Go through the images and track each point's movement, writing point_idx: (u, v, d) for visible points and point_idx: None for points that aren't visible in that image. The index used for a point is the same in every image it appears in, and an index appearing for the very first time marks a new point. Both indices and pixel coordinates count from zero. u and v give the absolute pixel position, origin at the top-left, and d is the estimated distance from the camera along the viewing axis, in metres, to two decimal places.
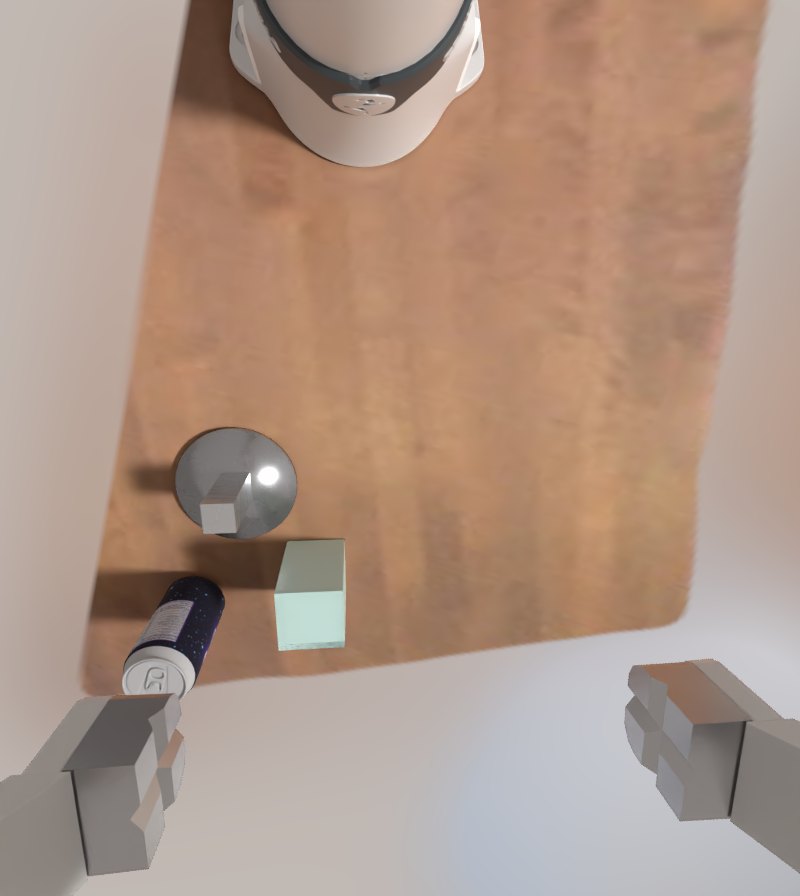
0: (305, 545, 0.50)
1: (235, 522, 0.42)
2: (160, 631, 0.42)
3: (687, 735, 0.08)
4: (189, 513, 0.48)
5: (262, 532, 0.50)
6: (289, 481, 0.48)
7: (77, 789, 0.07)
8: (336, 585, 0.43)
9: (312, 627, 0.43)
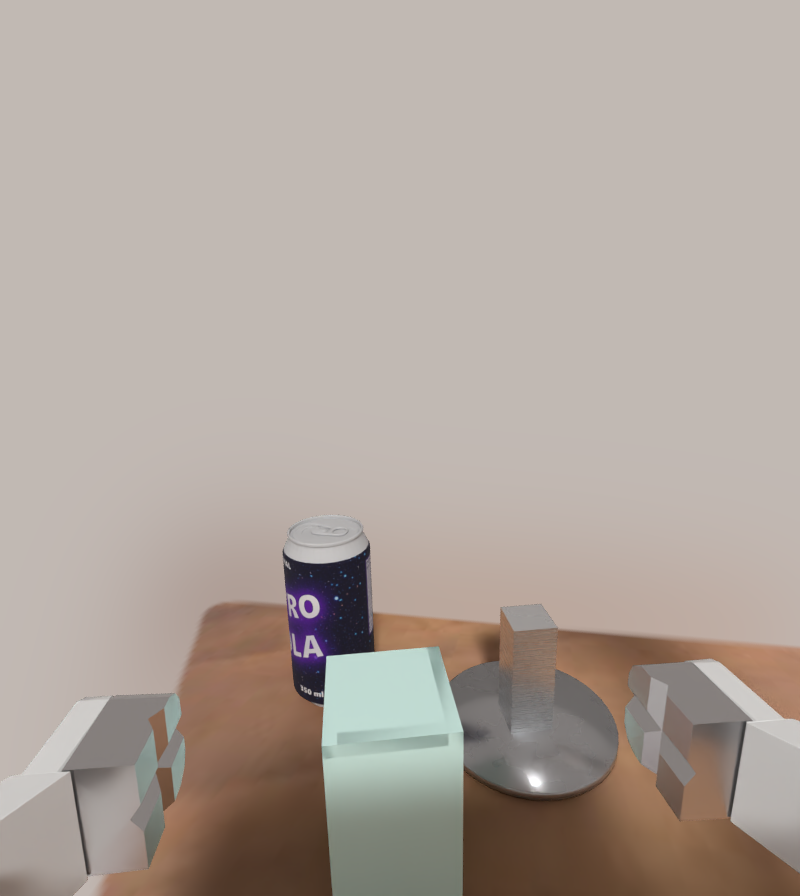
0: None
1: (528, 631, 0.30)
2: None
3: (687, 735, 0.08)
4: (466, 672, 0.37)
5: None
6: (559, 781, 0.28)
7: (77, 789, 0.07)
8: None
9: (373, 693, 0.23)
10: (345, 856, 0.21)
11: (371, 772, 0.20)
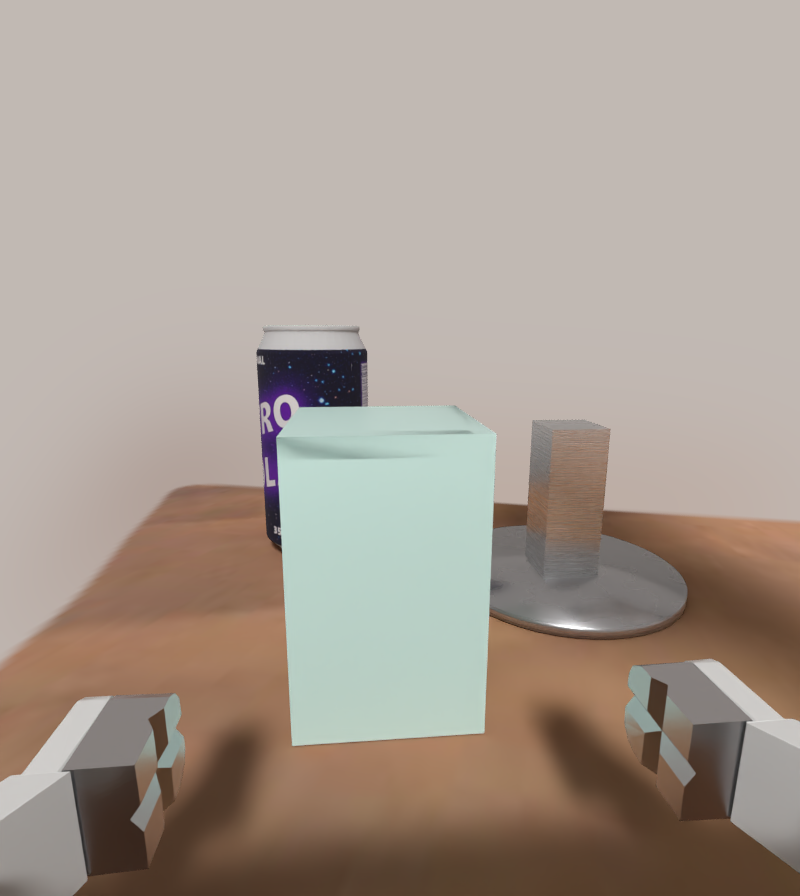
0: None
1: (571, 432, 0.22)
2: None
3: (687, 735, 0.08)
4: None
5: None
6: (613, 618, 0.20)
7: (77, 789, 0.07)
8: None
9: (361, 419, 0.16)
10: (310, 636, 0.14)
11: (353, 492, 0.13)
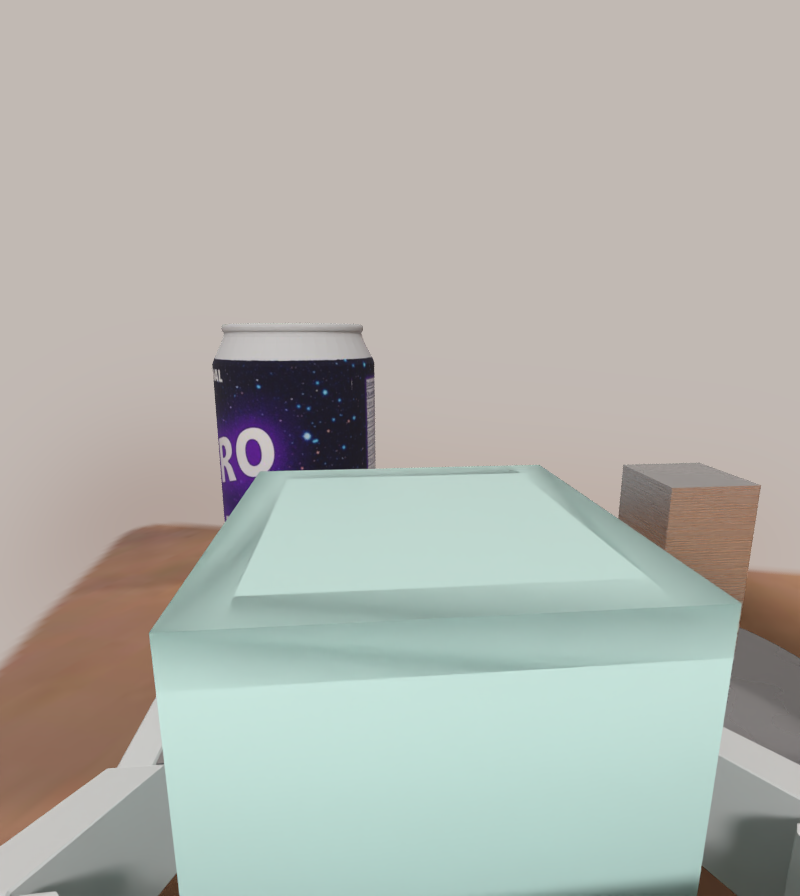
0: None
1: (700, 491, 0.14)
2: None
3: None
4: None
5: None
6: None
7: None
8: None
9: (376, 519, 0.07)
10: None
11: (364, 758, 0.05)
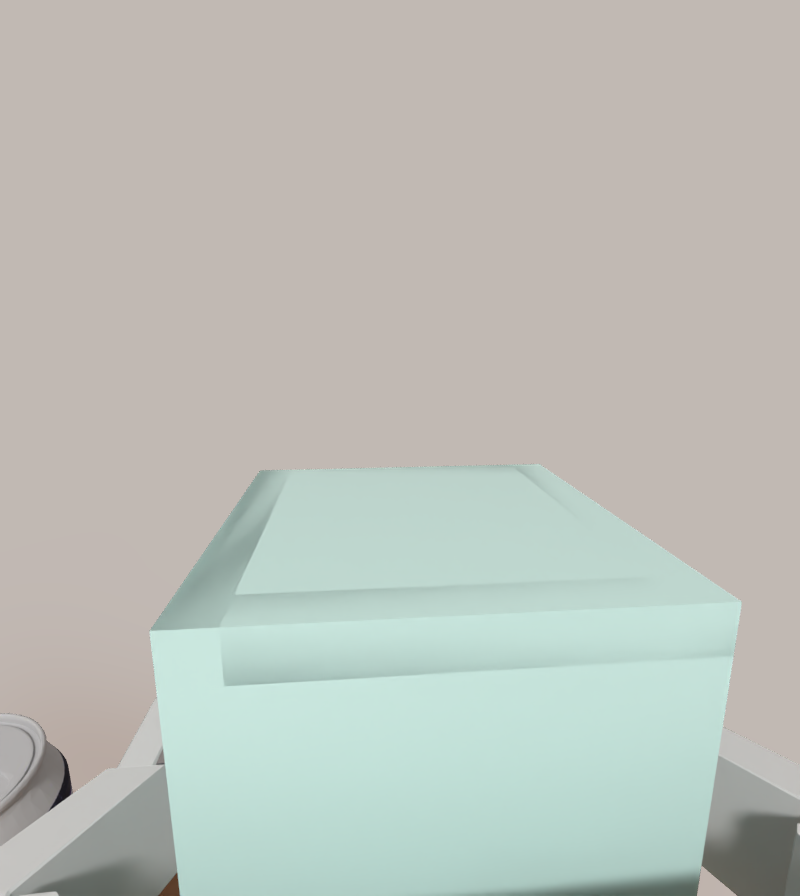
0: None
1: None
2: None
3: None
4: None
5: None
6: None
7: None
8: None
9: (377, 519, 0.07)
10: None
11: (364, 757, 0.05)
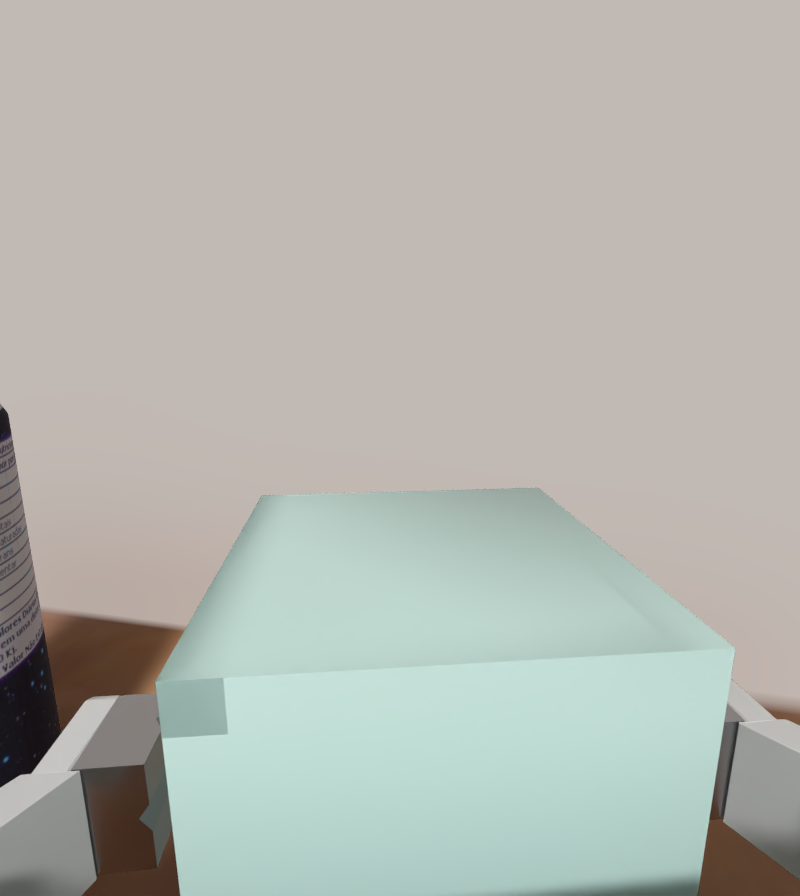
0: None
1: None
2: None
3: None
4: None
5: None
6: None
7: (86, 788, 0.07)
8: None
9: (377, 551, 0.07)
10: None
11: (365, 800, 0.05)
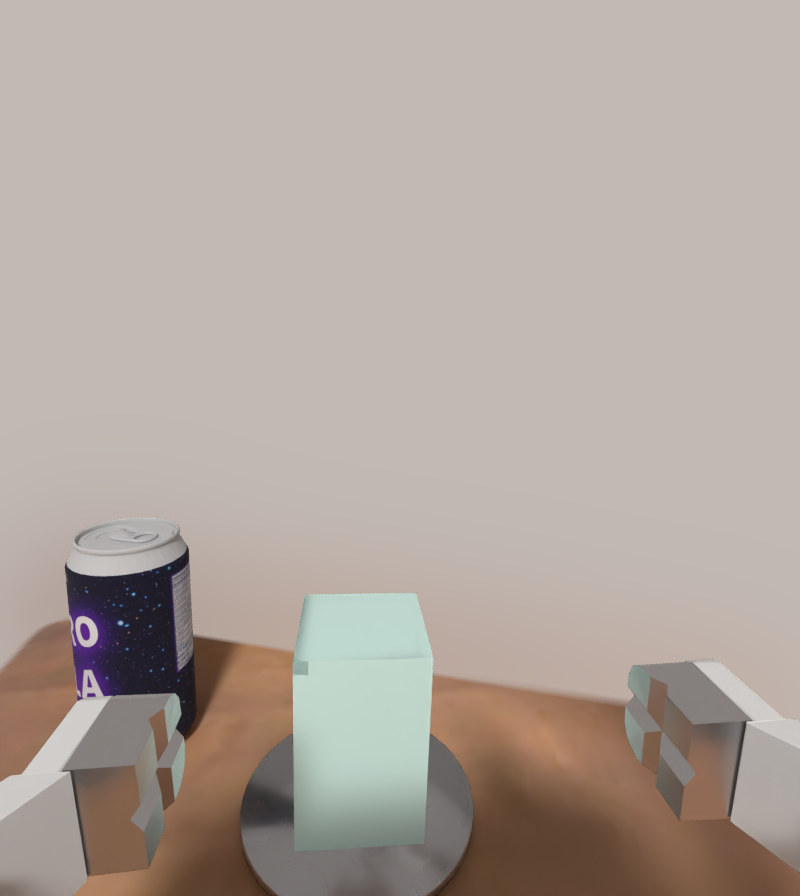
0: None
1: None
2: (188, 581, 0.27)
3: (687, 735, 0.08)
4: None
5: (247, 837, 0.23)
6: None
7: (77, 789, 0.07)
8: None
9: (348, 624, 0.23)
10: (309, 781, 0.21)
11: (340, 693, 0.21)
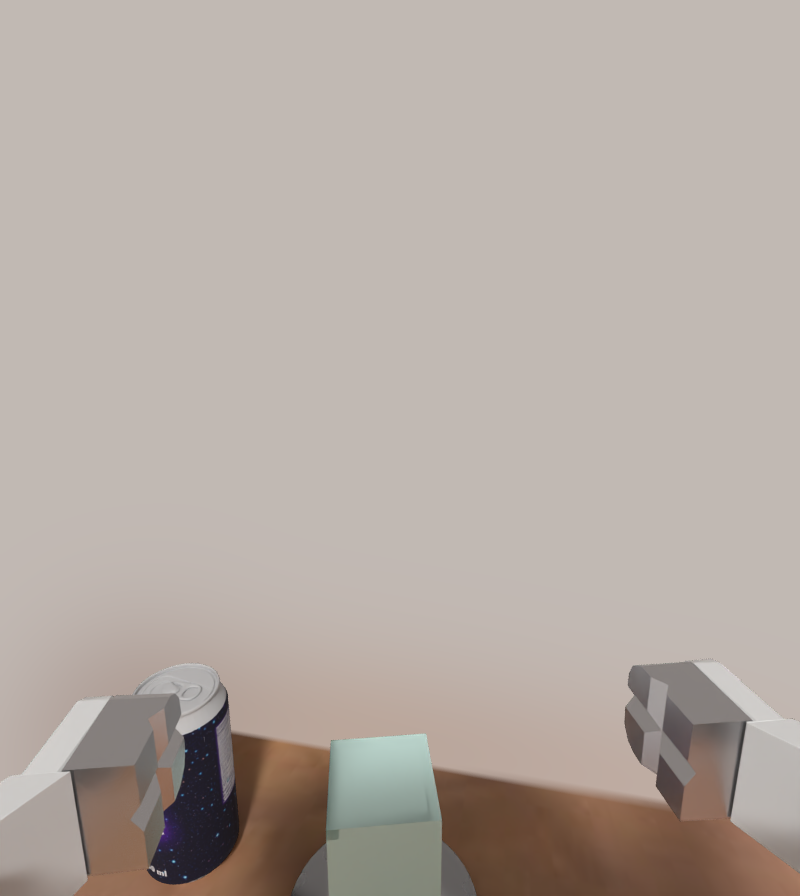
0: None
1: None
2: (228, 724, 0.32)
3: (687, 735, 0.08)
4: None
5: None
6: None
7: (77, 789, 0.07)
8: None
9: (369, 779, 0.27)
10: None
11: (365, 851, 0.25)
